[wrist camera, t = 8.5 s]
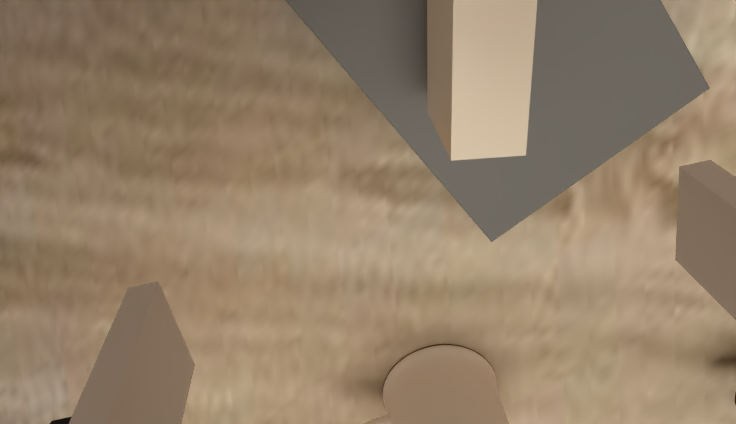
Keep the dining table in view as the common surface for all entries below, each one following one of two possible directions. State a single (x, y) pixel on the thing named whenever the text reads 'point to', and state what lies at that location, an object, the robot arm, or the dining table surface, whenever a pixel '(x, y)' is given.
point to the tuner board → (547, 99)
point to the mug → (442, 389)
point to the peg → (480, 75)
